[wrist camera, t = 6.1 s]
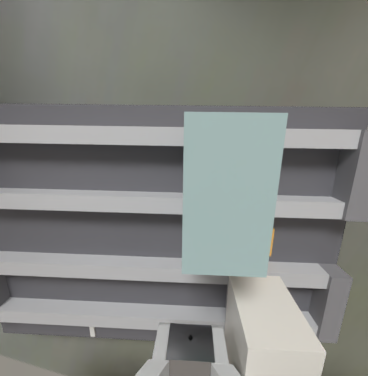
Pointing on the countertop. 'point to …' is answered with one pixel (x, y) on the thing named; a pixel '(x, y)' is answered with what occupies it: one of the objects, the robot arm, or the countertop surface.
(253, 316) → the fader
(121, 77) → the countertop surface
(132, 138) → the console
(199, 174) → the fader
